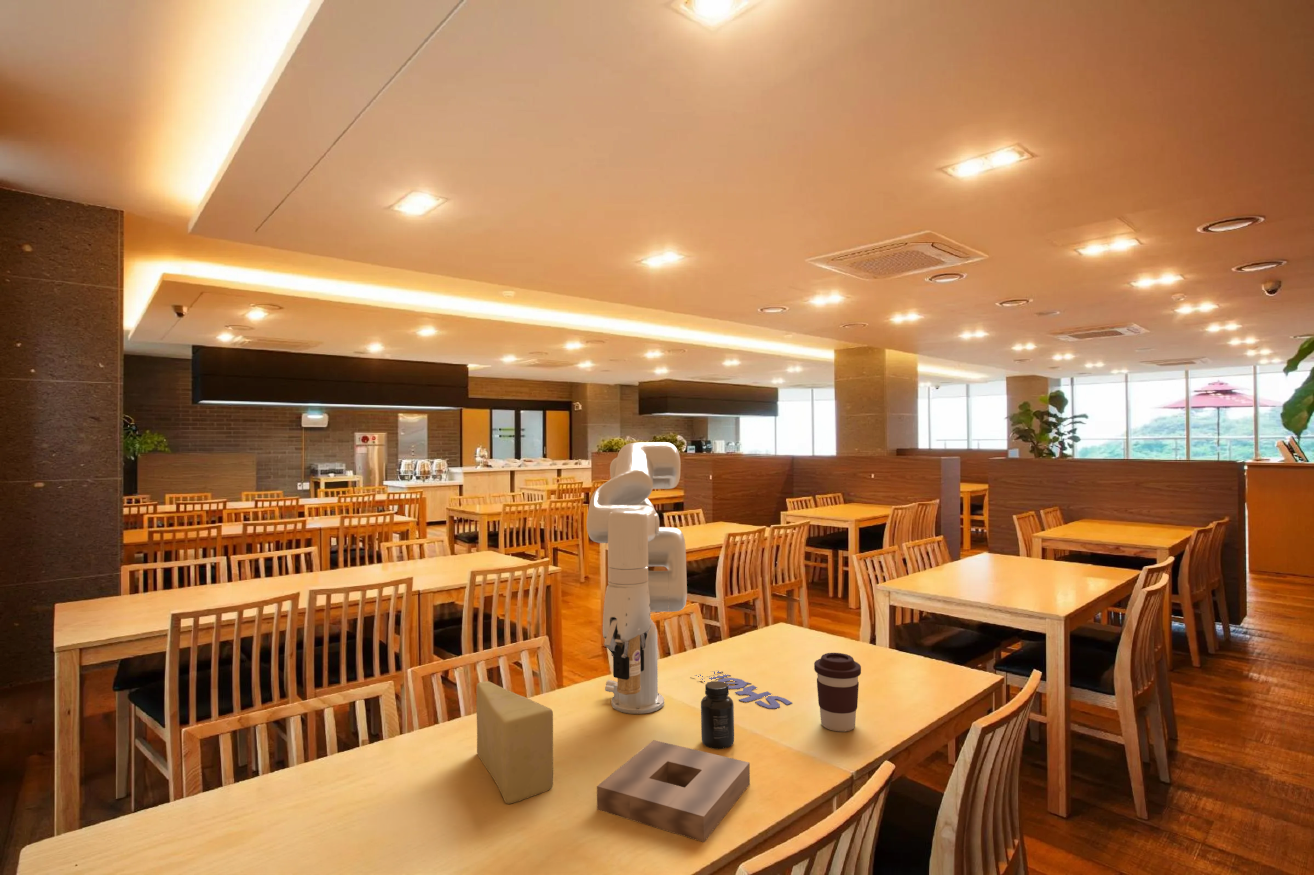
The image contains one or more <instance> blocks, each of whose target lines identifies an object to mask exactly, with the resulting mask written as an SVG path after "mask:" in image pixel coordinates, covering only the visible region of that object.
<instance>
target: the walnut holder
mask: <svg viewBox="0 0 1314 875" xmlns="http://www.w3.org/2000/svg"><path fill="white" fill-rule="evenodd" d="M750 764H751V763H750V762H748V761H744V760H742V759H741V760H740V759H736V758H732V757H729V756H724V755H718V754H715V753H710V752H706V751H702V750H698V749H694V748H689V747H684V746H681V745H677V744H672V743H667V742H664V741H658V740H655V739H653V740H652V741H651V742H649V743H648V744H647V745H645V746H644V747H643V748H641V750H639V751H638V752H637V753H636V754H634V755H633V756H632V757H631V758H630V759H628V760H627V761H626V762H625V763H624V764H622V765H621V766H620V767H619V768H617V769H616V770H615V771H614V772H613V773H612V772H611V774H610V775H609V776H607V777H606V778H604V780H603V781H601V782H600V783H599V784H597V786H596V810H597V811H601V812H604V813H607V814H611V815H614V816H617V817H620V818H622V819H627V820H630V821H633V822H637V823H640V824H643V825H647V826H650V827H653V828H656V829H659V830H663V831H667V832H668V833H669V832H670V833H673V834H676V835H680V836H683V837H686V838H689V839H692V840H695V839H696V841H698V840H699V842H702V843H705V842H706V840H707V839H708V838H709V837H710V835H711V834H712V833H713V831H714V830H715V829H716V828H717V826H718V825H719V824H720V823H721V821H722V820H723V818H725V816H726V815H727V814H728V812H729V811H730V810H731V808H733V806H735V804H736V803H737V801H738V800H739V799H740V797H741V796H742V795H743V794H744V792H745V791H746V790H747V789H748V788H749V786H750V785H751V784H750V783H751V782H750V780H751V777H750V776H751V775H750V774H751V773H750V772H751V770H750V767H751V766H750Z"/></svg>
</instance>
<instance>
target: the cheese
mask: <svg viewBox="0 0 1314 875" xmlns="http://www.w3.org/2000/svg"><path fill="white" fill-rule="evenodd" d="M475 705H476V709H475V710H476V753H477V756H478V759H480V761H481V762H482V764H483V765H484V767H485V769H486V770H487V771H488V773H489V774H490V776H491V777H492V779H493V780H494V782H495V783H496V785H497V788H498V789H499V791H500V794H501V795H502V797H503V801H504V802H505V804H514V803H518V802H520V801H523V800H525V799H528V798H532V797H534V796H537V795H540V794H542V793H544V792H547V791H549V790H551V789H552V788H553V786H554V713H553V710H552V708H550V707H548V706H545V705H543V704H541V703H539V702H536V701H534V700H532V699H530V698H528V697H525V696H523V695H520V694H517V693H515V692H513V691H510V690H509V689H506V688H503V687H502V686H500V685H498V684H495V683H493V682H491V681H489V680H488V681H487V680H485V681H482V682H478V683H477V684H476V704H475Z"/></svg>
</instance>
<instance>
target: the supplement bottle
mask: <svg viewBox="0 0 1314 875" xmlns="http://www.w3.org/2000/svg"><path fill="white" fill-rule="evenodd" d="M729 692H730V691H729V689H728V684H727V683H724V682H720V681H718V680H715V681H711V682H707V683H705V689H704V694H705V696H703V698H702V699H701V701H700V726H701V727H700V728H701V730H700V731H701V737H700V738H701V742H702V744H703V745H704V746H705V747H706V748H709V749H712V750H725V749H728V748H730V747H732V746H733V744H734V743H735V716H734V715H735V710H734V708H735V706H734V700H733V699H732V697H730V696H729V695H730V693H729Z"/></svg>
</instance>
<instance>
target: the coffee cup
mask: <svg viewBox="0 0 1314 875" xmlns="http://www.w3.org/2000/svg"><path fill="white" fill-rule="evenodd" d="M813 664H814V666H813V670H814V672H815V673H816V674H817V675H816V676H817V678H816V687H817V688H816V690H817V699H818V700H817V701H818V707H819V715H820V716H819V717H820V723H821V725H822V726H823V727H824V728H825V729H827V730H830V731H834V732H841V733H843V732H844V733H845V732H851V731H852V730H853V729H855V726H856V720H857V719H856V717H857V716H856V715H857V709H858V701H859V682H860V681H859V676H860V675H861V674H862V666H861V664H860V663H859V662H857V661H855V659H854V658H853V656H851V655H849V654H846V653H841V652H828V653H827V652H826V653H823V654H822V655H821V657H820V658H819V659H816V660H815V661H814V663H813Z"/></svg>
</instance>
